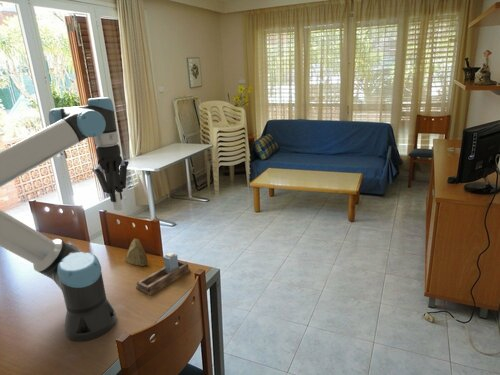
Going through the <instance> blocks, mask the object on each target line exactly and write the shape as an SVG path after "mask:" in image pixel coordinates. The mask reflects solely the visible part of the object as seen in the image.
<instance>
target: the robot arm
mask: <svg viewBox="0 0 500 375" xmlns="http://www.w3.org/2000/svg"><path fill="white" fill-rule="evenodd" d="M115 112H116V111H115V108H114V104H113V100H112V98H110V97H107V96H106V97H103V96H102V97H93V98H91V97H90V98H88V99H87V104H86V105H80V106H79V105H78V106H66V107H56V108H52V109H50V110H49V111H48V121H49V124H50V125H48V126H47V127H46V126H45V127H44V128H42V129H40V130H39V131H36V132H34V133H33V134H31V135H29V136H27V137H25V138H23V139H21V140H20V141H18V142H16V143H14V144H12V145H11V144H10V146H8V147H6V148H4V149H2V150H0V188H1V187H3V186H5V185H7V184H8V183H10V182H13V181H14V180H15V179H17V178H19V177H21V176H22V175H25V174H26V173H27V172H30V171H31V170H33V169H35V168H36V167H39V166H40V165H42V164H43V163H44V164H45V163H46V162H47V161H49V160H51V159H53V158H54V157H55V156H58V155H60V154H61V153H63V152H65V151H67V150H68V149H70V148H71V147H73V146H75V145H77V144H79V143H81V142H82V141H84V140H86V139H87V138H94V144H95V150H96V156H97V160H98V161H97V166H95V167H93V168H92V172H93V173H94V174H95V175H96V178H97V180H98V182H99V184H100V187H101V189H102V191H103V193H105V194H108V195H109V198H110V202H111V203H112V204H113V209H114V211H118V212H120V211H122V210H123V206H122V200H123V195H122V192H123V191H124V189H126V187H127V172H128V167H129V164H130V162H129V161H128V160H125V159H123V158H122V156H121V153H122V152H121V148H120V144H119V134H118V129H117V124H116V123H117V122H116V114H115ZM102 171H103V172H104V173H103V172H102ZM104 175H105V176H104ZM0 247H1V248H3V249H5V250H6V251H9V252H10V253H12V254H14V255H16V256H18V257H20V258H22V259H24V260H26V261H28V262H30V263H32V264H33V269H34V271H35V272H37V273H39V274H41V275H43V276H45V277H47V278H49V279H51V280H52V281H54V283H55V284H56V285H57V286H58V287H59V289H60V290H61V292H62V295H63V298H64V300H63V301H64V303H65V308H66V314H65V320H64V326H63V327H64V331H65V336H66V337H67V338H68V339H70V340H72V341H77V342H84V341H89V340H93V339H96V338H98V337H101V336H103V335H104V334H106V333H107V332H108V331H110V330H111V329H112V328H113V327H114V325H115V323H116V321H117V316H116V310H115V309H114V307H113V306H112V305H111V303H110V301H109V299H107V294H106V290H105V283H104V279H103V278H104V277H103V272H102V266H101V263H100V260H99V258H98V257H97V256H96V255H95V254H93V253H91V252H85V251H80V249H79V248H78V247H76V246H74V244H70V243H67V242H65V241H64V240H62V239H60V238H53V239H50V238H49V237H48V236H45V235H44V234H42V233H41V232H38V231H37V230H35V229H34V228H32V227H31V226H28V225H27V224H25V223H24V222H22V221H20V220H19V219H17V218H15V217H13V216H12V215H10V214H8V213H6V212H5V211H3V210H2V209H0Z"/></svg>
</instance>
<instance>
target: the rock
mask: <svg viewBox="0 0 500 375" xmlns="http://www.w3.org/2000/svg"><path fill="white" fill-rule="evenodd" d="M124 262H126V263H128V264H131V265H135V266H142V267H144V266H147V265H148V256H147V253H146V251H145V248H144V246H143V245H142V243H141V241H140V239H139V238H135V237H134V238H133V239H132V241H131V243H130V245H129V247H128V250H127V251H126V254H125V259H124Z"/></svg>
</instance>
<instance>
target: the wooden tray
mask: <svg viewBox="0 0 500 375" xmlns="http://www.w3.org/2000/svg"><path fill="white" fill-rule="evenodd" d="M178 266H179V268H177V269H175V270H173V271H172V272H170V273H168V274H167V273H166V272H165V266H163V267H161V268H160V269H158V270H156V271H154V272H153V273H151V274H150V275H148V276H145V277H144V278H142V279H141V280H138V281H137V282H136V286H135V288H136V289H137V290H138V291H141V292H142V293H145V294H147V295H149V296H151V295H154V294H155V293H156V292H158V291H160V290H161V289H163V288H165V287H166V286H168V285H170V284H171V283H173V282H174V281H176V280H178V279H179V278H181V277H183V276H184V275H186V274H188V273H189V272H190V271H191V268H189V264H188V263H187V262H184V261H181V260H179V259H178Z"/></svg>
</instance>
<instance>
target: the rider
mask: <svg viewBox="0 0 500 375" xmlns="http://www.w3.org/2000/svg"><path fill="white" fill-rule="evenodd" d="M178 260H179V259H178V254H176V253H174V252H172V251H171V252H168V253H166V254H165V256H163V265H164V267H165V272H166V273H167V274H168V273H170V272H172V271H173V270H175V269H177V268H179V266H178Z"/></svg>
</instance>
